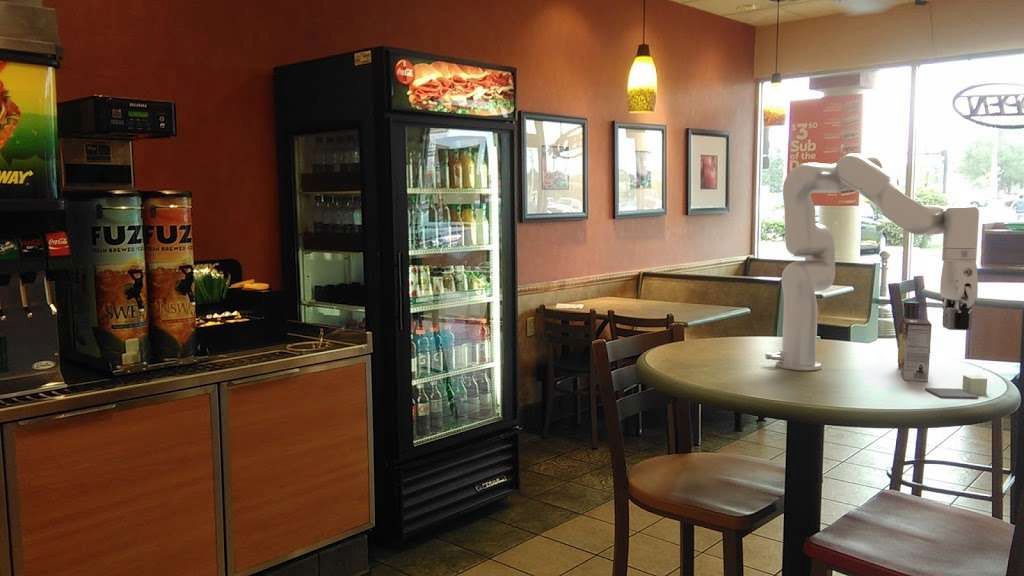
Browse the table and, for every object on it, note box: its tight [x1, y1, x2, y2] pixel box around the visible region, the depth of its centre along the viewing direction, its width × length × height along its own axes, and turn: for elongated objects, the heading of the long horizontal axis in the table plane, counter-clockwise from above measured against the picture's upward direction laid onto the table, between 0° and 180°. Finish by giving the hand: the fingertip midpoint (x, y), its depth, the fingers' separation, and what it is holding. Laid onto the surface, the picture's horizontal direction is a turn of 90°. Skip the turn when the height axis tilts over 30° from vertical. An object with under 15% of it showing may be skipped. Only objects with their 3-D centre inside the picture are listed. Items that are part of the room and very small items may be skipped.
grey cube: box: [942, 308, 973, 331], centre depth 201 cm, size 5×5×5 cm
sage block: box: [961, 374, 988, 395], centre depth 206 cm, size 4×4×4 cm
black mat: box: [924, 387, 979, 400], centre depth 203 cm, size 9×9×1 cm
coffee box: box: [900, 318, 933, 383], centre depth 222 cm, size 9×6×16 cm
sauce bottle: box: [897, 301, 920, 370], centre depth 235 cm, size 7×6×20 cm
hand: (955, 326), depth 202 cm, fingers closed on grey cube, 5 cm apart
